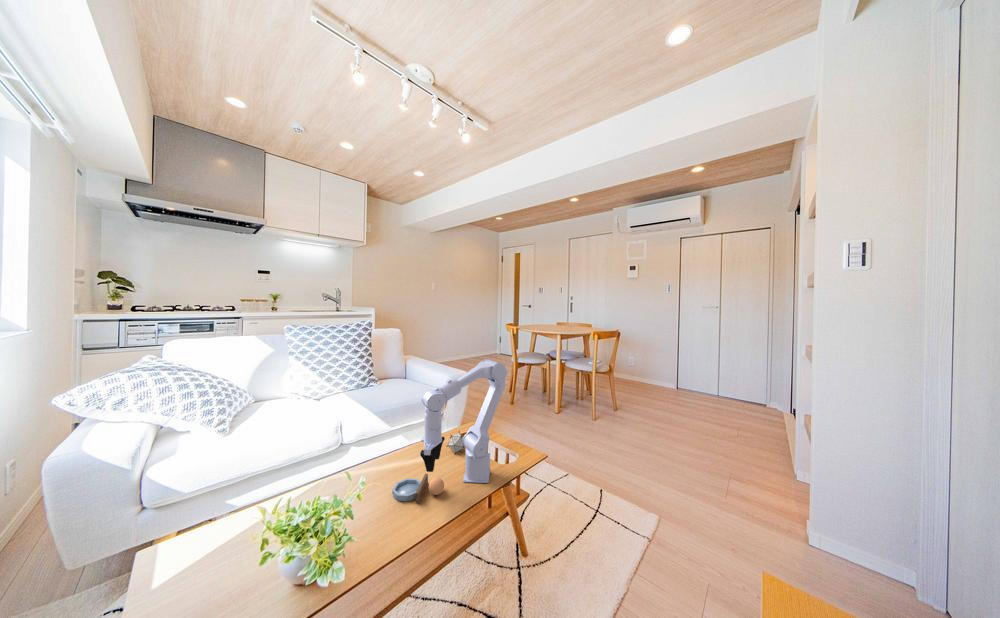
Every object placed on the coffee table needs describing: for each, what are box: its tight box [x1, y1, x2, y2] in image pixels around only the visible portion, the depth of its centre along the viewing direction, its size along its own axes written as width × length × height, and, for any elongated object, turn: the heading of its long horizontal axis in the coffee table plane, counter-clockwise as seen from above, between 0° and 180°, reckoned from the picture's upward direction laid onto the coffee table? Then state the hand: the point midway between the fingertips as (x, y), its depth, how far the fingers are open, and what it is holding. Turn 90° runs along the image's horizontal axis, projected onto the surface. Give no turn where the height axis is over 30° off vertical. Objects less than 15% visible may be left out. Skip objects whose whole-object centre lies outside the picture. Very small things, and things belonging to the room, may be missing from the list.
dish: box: [391, 478, 421, 503], centre depth 105 cm, size 9×9×2 cm
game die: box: [445, 430, 466, 455], centre depth 133 cm, size 9×8×10 cm
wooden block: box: [415, 473, 429, 505], centre depth 105 cm, size 1×11×4 cm, turn 178°
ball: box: [428, 477, 445, 496], centre depth 104 cm, size 5×5×5 cm
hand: (433, 464), depth 105 cm, fingers open, 7 cm apart
